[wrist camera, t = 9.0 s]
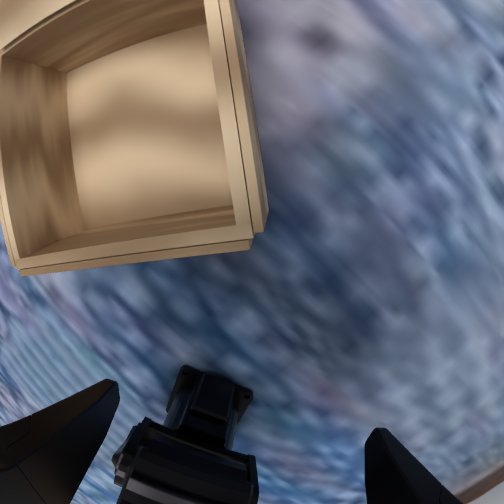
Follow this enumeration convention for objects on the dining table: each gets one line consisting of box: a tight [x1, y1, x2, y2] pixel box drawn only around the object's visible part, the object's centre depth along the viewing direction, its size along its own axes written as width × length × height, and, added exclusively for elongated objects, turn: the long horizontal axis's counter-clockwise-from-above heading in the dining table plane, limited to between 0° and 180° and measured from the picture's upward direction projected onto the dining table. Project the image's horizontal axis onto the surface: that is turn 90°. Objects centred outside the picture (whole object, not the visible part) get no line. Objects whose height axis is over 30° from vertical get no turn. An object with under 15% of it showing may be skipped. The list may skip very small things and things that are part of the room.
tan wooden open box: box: [0, 0, 269, 276], centre depth 15 cm, size 14×15×8 cm
